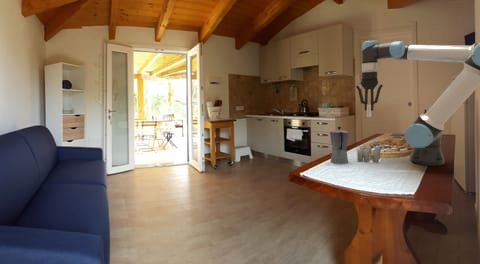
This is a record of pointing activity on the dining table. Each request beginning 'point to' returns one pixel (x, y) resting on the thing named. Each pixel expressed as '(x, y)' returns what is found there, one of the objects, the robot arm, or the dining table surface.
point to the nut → (369, 156)
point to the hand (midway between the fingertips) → (369, 116)
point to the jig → (366, 154)
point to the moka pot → (339, 146)
